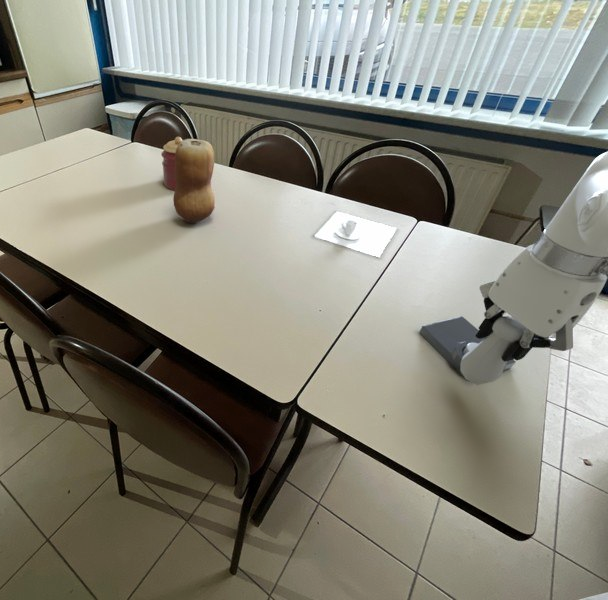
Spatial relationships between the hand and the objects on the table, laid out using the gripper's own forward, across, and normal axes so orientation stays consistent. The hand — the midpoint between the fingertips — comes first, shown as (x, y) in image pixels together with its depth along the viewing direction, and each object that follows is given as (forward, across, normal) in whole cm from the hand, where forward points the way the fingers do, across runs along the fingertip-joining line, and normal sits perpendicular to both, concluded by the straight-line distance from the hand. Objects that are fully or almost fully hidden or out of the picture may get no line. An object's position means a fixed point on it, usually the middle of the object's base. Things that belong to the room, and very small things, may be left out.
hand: (496, 346), depth 59 cm
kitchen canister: (+16, +110, +27) cm, 114 cm away
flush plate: (+16, +10, -12) cm, 22 cm away
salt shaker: (+8, 0, 0) cm, 8 cm away
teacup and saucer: (+16, +59, -18) cm, 64 cm away
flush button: (+12, +6, -9) cm, 16 cm away
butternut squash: (+16, +82, +29) cm, 88 cm away
